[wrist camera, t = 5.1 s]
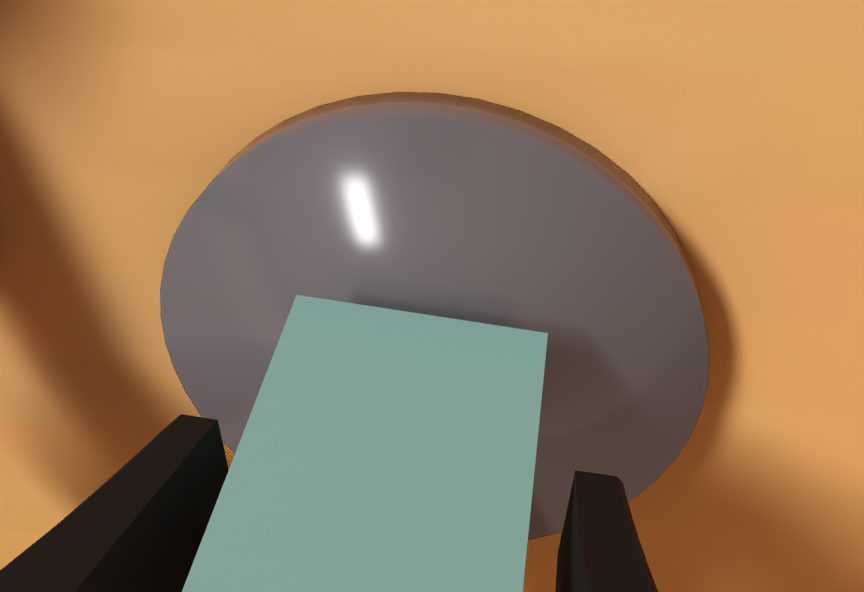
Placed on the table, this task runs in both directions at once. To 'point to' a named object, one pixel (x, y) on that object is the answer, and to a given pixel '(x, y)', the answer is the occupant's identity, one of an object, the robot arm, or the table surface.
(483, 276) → the dish
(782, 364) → the table surface
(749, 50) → the table surface
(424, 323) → the block
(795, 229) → the table surface
